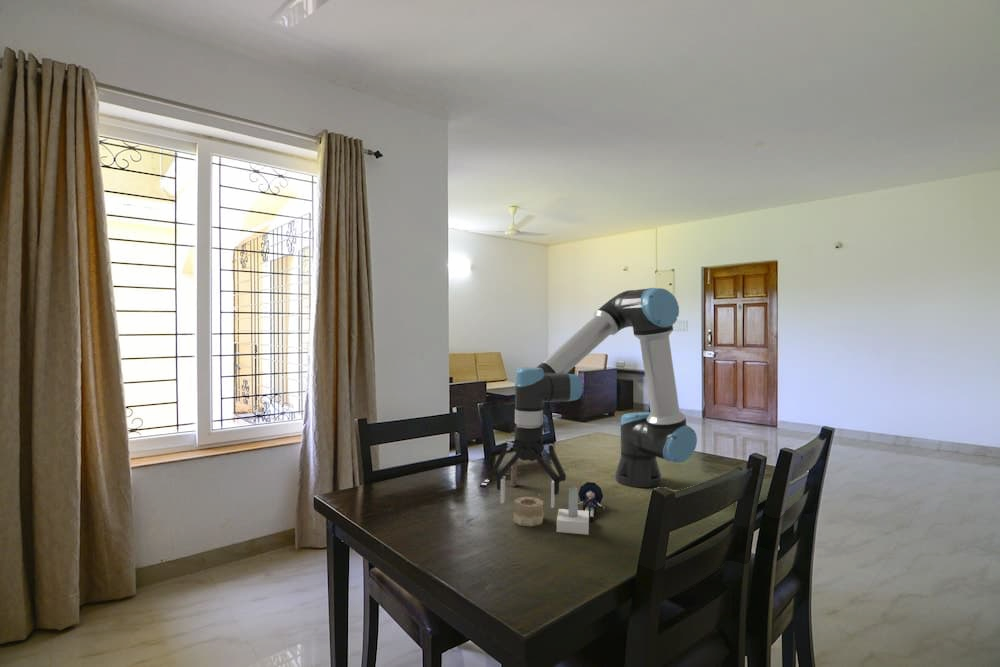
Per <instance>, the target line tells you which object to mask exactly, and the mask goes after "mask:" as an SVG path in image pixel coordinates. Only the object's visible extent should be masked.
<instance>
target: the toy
mask: <svg viewBox="0 0 1000 667" xmlns="http://www.w3.org/2000/svg"><path fill="white" fill-rule="evenodd" d="M603 497H604V495H603V491H602V489H601V487H600V486H599V485H598V484H597V483H596V482H591V481H590V482H589V481H588V482H585V483H584V484H583V485H581V486H580V488H579V490H578V499H579V501H580V502H578V506H580V505H582V510H583V511H589V523H593V521H594V514H596V513H597V508H596V507H597V506H599V507H601V508H602V509H603V510H605V508H606V507H605V506H604V505H602V504H601V502H602V500H603Z"/></svg>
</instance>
